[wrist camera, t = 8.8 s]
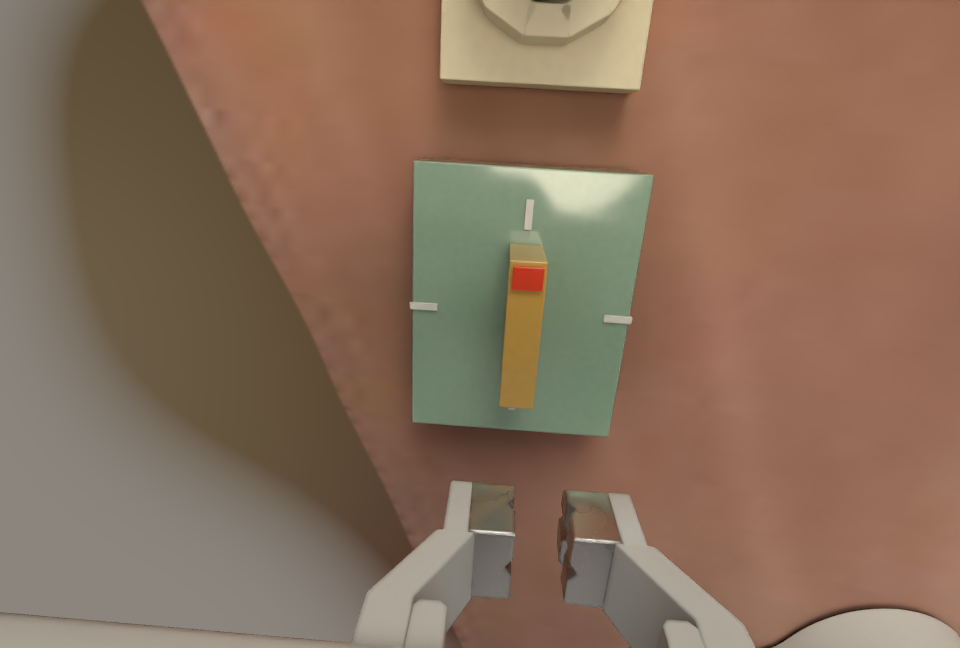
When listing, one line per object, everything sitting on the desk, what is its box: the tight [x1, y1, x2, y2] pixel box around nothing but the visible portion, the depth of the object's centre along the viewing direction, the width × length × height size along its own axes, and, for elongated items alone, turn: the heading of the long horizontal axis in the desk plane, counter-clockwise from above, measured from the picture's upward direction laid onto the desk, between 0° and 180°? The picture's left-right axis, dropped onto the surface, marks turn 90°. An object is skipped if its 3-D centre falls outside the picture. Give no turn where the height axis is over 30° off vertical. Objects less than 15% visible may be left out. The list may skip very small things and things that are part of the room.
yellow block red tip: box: [499, 243, 548, 409], centre depth 23 cm, size 7×2×4 cm, turn 177°
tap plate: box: [410, 158, 654, 437], centre depth 26 cm, size 11×14×3 cm
